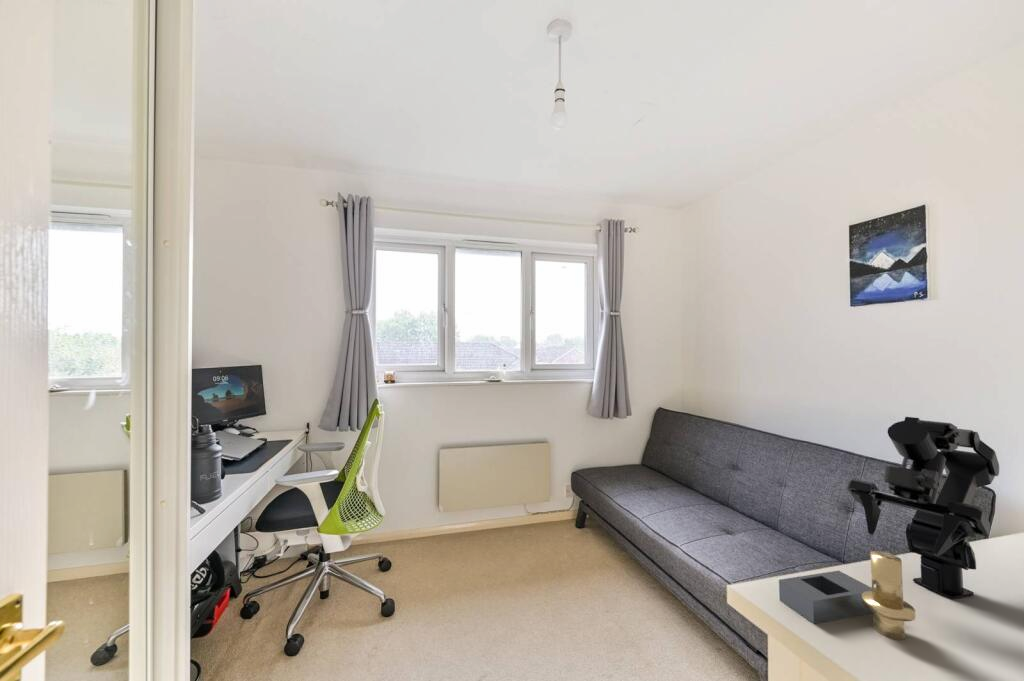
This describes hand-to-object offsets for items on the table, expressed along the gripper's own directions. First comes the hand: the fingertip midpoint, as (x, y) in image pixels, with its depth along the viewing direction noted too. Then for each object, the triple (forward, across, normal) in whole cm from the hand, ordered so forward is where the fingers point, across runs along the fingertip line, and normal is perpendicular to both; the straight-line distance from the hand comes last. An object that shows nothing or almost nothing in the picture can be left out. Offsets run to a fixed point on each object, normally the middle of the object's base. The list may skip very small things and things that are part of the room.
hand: (901, 543), depth 73 cm
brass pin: (+15, 0, +3) cm, 15 cm away
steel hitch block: (+16, -8, +2) cm, 18 cm away
